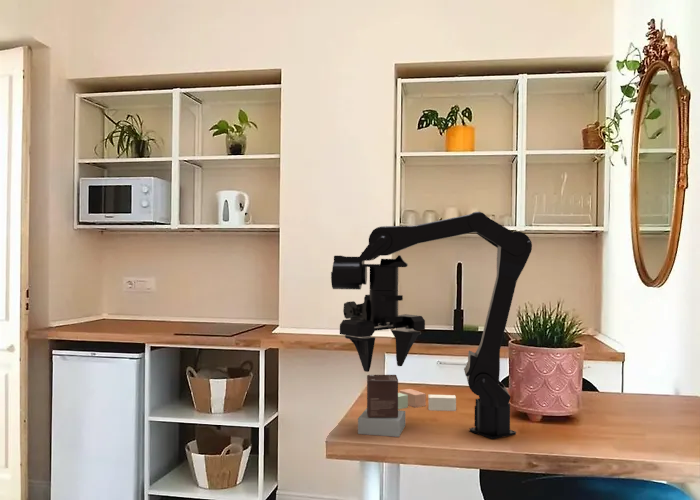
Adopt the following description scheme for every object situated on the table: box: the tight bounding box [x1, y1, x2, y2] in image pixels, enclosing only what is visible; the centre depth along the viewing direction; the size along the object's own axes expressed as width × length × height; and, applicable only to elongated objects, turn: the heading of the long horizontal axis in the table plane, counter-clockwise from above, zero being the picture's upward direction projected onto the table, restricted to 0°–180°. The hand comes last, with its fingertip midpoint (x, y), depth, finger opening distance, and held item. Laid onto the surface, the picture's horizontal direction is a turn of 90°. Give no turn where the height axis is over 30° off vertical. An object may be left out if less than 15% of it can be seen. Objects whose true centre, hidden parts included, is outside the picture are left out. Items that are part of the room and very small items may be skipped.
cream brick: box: [427, 394, 457, 412], centre depth 141 cm, size 6×3×3 cm, turn 84°
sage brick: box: [398, 392, 409, 410], centre depth 142 cm, size 6×3×3 cm, turn 131°
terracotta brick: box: [398, 388, 427, 408], centre depth 146 cm, size 6×3×3 cm, turn 32°
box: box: [366, 374, 399, 418], centre depth 124 cm, size 6×6×7 cm
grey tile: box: [357, 408, 406, 438], centre depth 124 cm, size 8×8×3 cm
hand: (383, 368), depth 125 cm, fingers open, 9 cm apart
